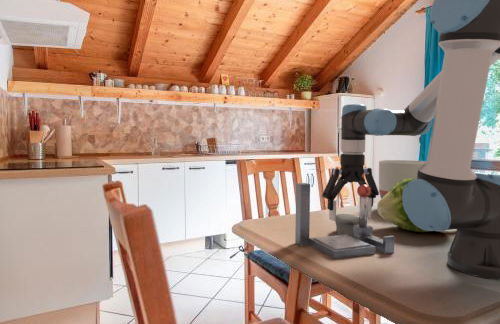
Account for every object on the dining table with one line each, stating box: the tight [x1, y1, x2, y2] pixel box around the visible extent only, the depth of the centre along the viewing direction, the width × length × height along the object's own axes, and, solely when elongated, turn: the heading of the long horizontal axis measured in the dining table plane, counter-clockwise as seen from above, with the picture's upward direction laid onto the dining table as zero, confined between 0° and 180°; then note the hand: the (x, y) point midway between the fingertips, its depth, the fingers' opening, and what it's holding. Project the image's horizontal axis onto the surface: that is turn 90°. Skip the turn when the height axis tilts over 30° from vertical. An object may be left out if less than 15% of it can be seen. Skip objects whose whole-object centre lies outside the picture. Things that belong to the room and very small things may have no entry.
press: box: [294, 182, 395, 260], centre depth 102 cm, size 17×22×18 cm
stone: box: [334, 213, 359, 237], centre depth 117 cm, size 9×9×10 cm
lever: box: [353, 184, 374, 235], centre depth 108 cm, size 4×4×15 cm
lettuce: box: [376, 178, 429, 233], centre depth 121 cm, size 19×23×18 cm
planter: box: [378, 159, 427, 200], centre depth 155 cm, size 20×20×21 cm
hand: (350, 218), depth 116 cm, fingers open, 13 cm apart
